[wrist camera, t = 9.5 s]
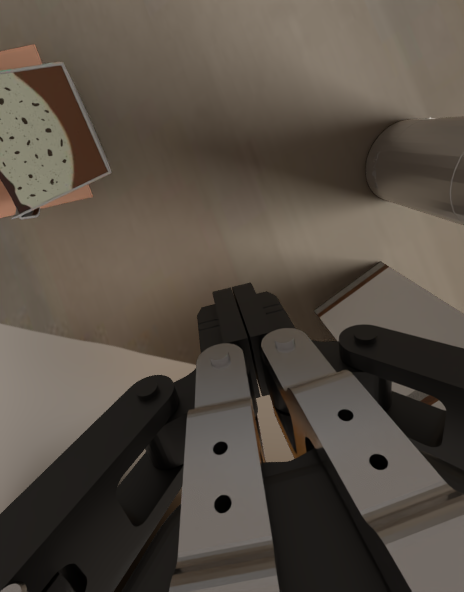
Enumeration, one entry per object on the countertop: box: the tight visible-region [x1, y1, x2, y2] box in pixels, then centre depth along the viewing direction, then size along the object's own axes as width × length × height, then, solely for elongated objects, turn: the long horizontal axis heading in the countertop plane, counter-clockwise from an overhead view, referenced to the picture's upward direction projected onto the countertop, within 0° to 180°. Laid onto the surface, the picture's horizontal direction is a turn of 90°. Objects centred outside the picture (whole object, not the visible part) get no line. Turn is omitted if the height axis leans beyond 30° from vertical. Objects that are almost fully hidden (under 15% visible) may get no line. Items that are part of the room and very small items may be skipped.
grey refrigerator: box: [314, 262, 464, 410], centre depth 34 cm, size 11×11×35 cm
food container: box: [0, 61, 112, 220], centre depth 32 cm, size 12×6×10 cm
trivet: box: [0, 44, 93, 218], centre depth 34 cm, size 10×14×1 cm
